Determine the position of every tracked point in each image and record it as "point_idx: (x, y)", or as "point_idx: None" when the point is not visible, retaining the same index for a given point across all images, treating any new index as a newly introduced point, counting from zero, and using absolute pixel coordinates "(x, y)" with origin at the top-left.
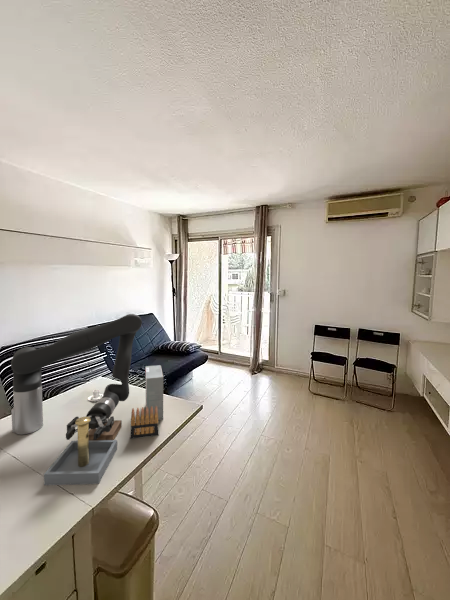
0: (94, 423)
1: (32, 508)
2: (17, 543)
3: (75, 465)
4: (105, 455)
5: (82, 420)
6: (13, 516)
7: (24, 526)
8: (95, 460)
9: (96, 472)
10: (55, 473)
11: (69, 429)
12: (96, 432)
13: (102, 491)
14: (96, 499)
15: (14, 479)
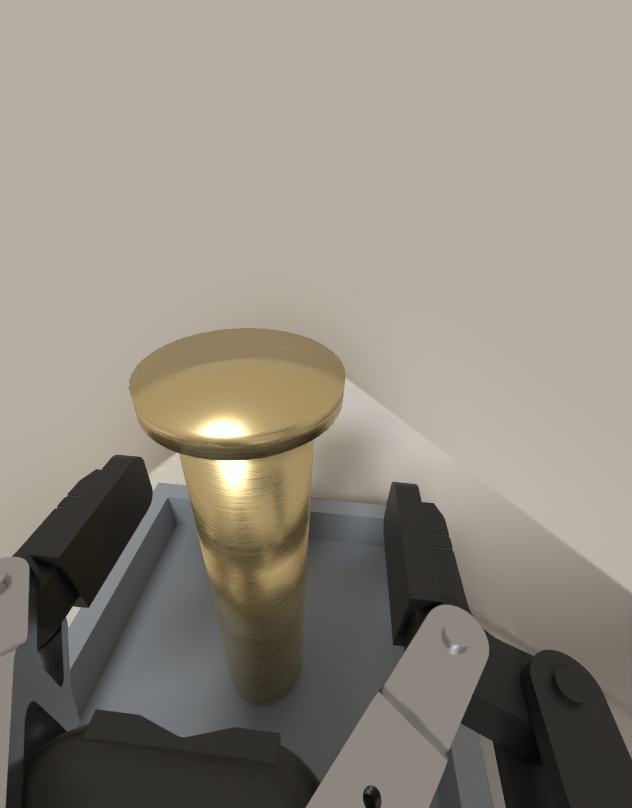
0: (92, 720)
1: (379, 460)
2: (348, 397)
3: (316, 645)
4: (96, 622)
5: (247, 361)
6: (416, 446)
7: (361, 421)
8: (183, 686)
9: (169, 486)
10: (372, 507)
11: (464, 594)
12: (107, 464)
13: (156, 485)
14: (179, 460)
15: (607, 606)
